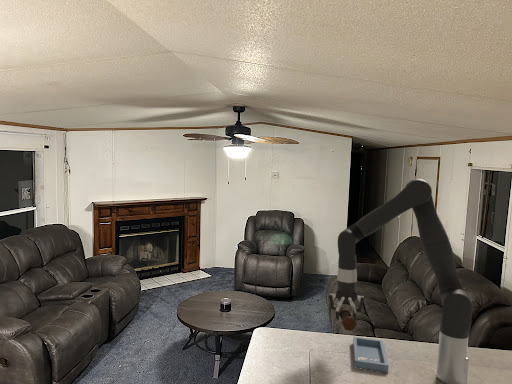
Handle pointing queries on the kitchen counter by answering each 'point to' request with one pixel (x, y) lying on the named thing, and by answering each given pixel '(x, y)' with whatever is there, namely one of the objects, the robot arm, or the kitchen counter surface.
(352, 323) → the bolt
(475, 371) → the kitchen counter surface
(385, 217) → the robot arm
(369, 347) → the parts tray
